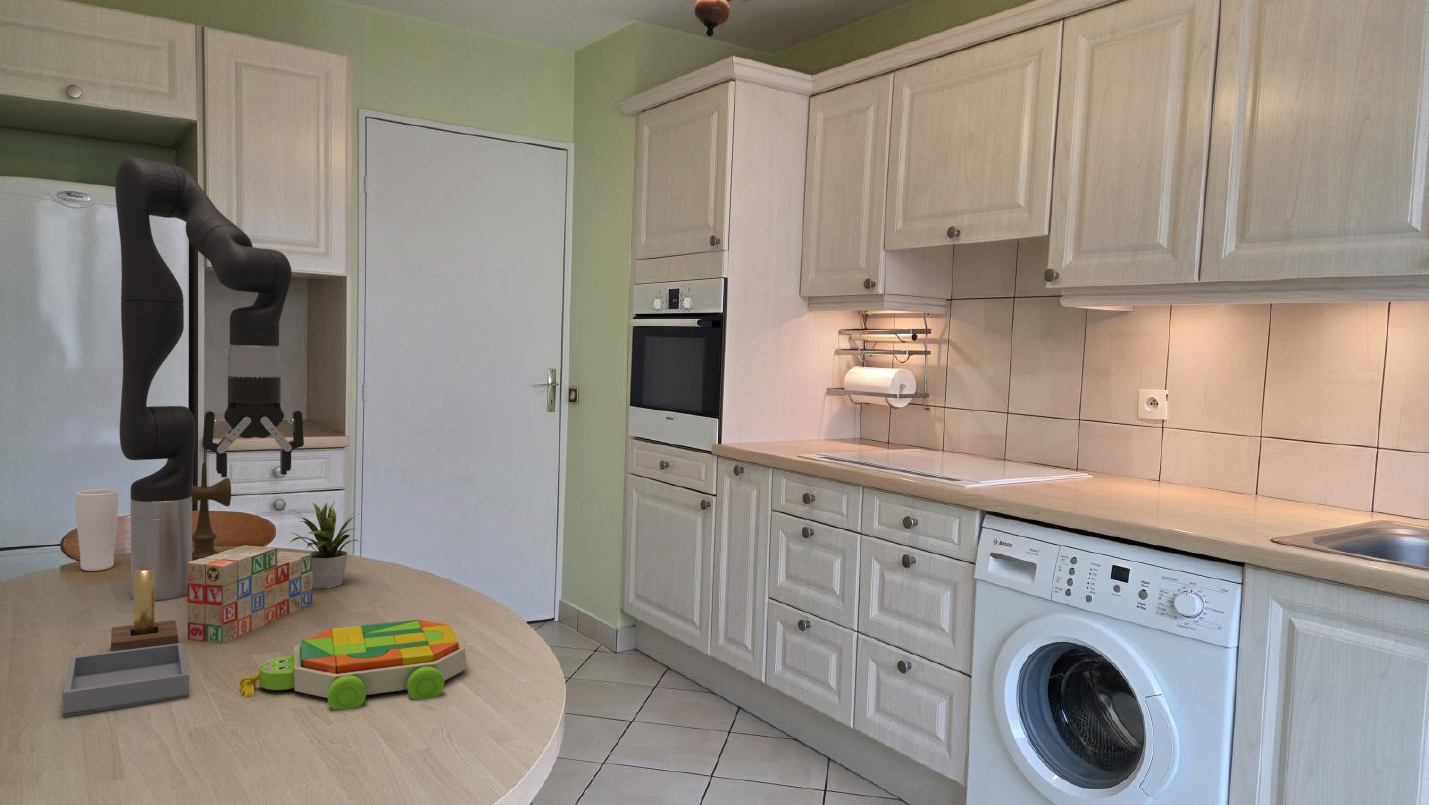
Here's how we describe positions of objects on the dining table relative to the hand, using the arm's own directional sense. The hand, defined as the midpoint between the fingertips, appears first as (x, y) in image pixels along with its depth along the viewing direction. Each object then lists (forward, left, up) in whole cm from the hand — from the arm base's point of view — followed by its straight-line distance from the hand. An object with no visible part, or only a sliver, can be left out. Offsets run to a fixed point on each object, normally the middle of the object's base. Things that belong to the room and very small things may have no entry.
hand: (254, 475), depth 145 cm
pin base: (+8, -15, -24) cm, 29 cm away
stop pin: (+8, -15, -24) cm, 29 cm away
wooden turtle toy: (+33, +9, -25) cm, 42 cm away
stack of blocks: (0, 0, -24) cm, 24 cm away
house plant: (-18, +13, -24) cm, 33 cm away
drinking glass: (-49, -22, -24) cm, 59 cm away
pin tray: (+23, -17, -24) cm, 37 cm away
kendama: (-49, -4, -24) cm, 55 cm away
